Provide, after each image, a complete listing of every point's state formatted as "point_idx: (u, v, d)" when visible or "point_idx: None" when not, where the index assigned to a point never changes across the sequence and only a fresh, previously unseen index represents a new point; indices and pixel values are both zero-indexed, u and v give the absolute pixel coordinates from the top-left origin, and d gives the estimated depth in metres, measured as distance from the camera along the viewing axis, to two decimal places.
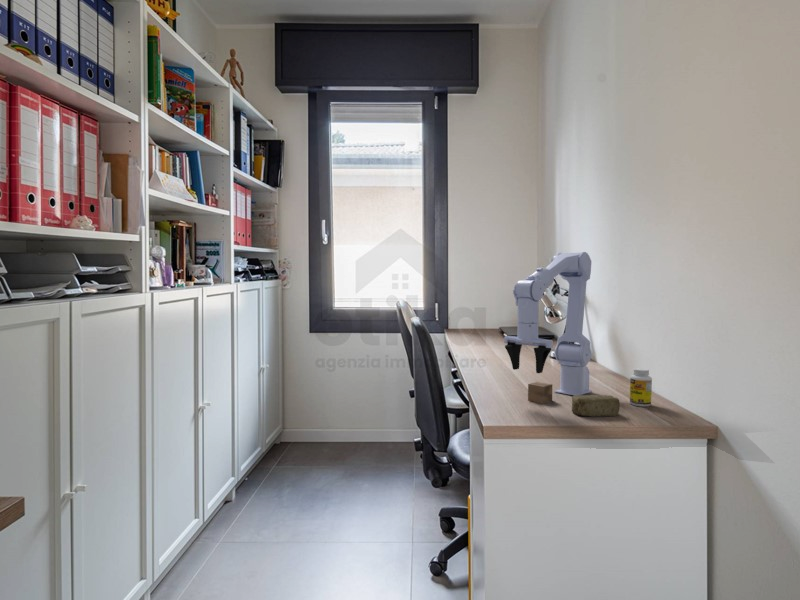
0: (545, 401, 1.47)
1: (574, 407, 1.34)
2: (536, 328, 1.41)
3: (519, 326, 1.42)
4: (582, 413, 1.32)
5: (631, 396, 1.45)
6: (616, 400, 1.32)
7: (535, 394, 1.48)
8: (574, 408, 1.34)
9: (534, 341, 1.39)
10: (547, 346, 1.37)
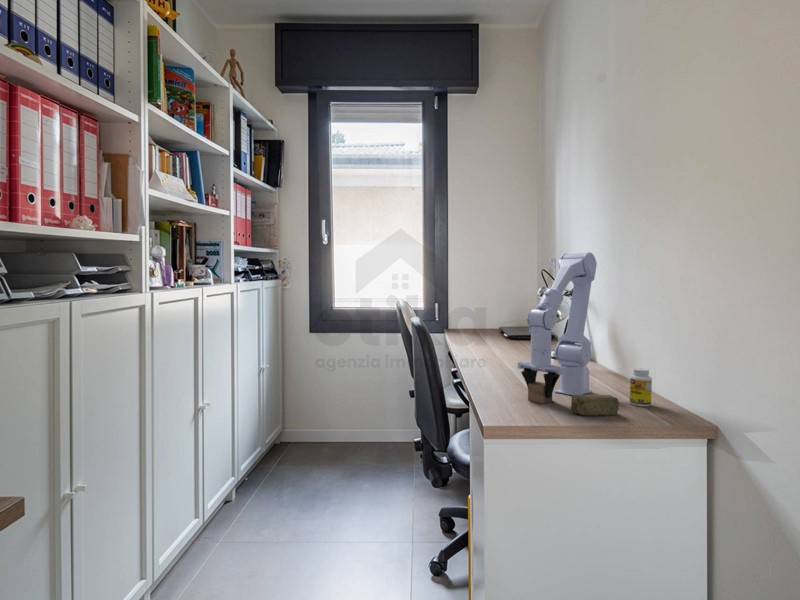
0: (545, 401, 1.47)
1: (573, 406, 1.35)
2: (549, 355, 1.47)
3: (532, 353, 1.48)
4: (581, 413, 1.33)
5: (631, 396, 1.45)
6: (615, 399, 1.33)
7: (535, 394, 1.48)
8: (573, 407, 1.35)
9: (547, 368, 1.46)
10: (559, 373, 1.44)
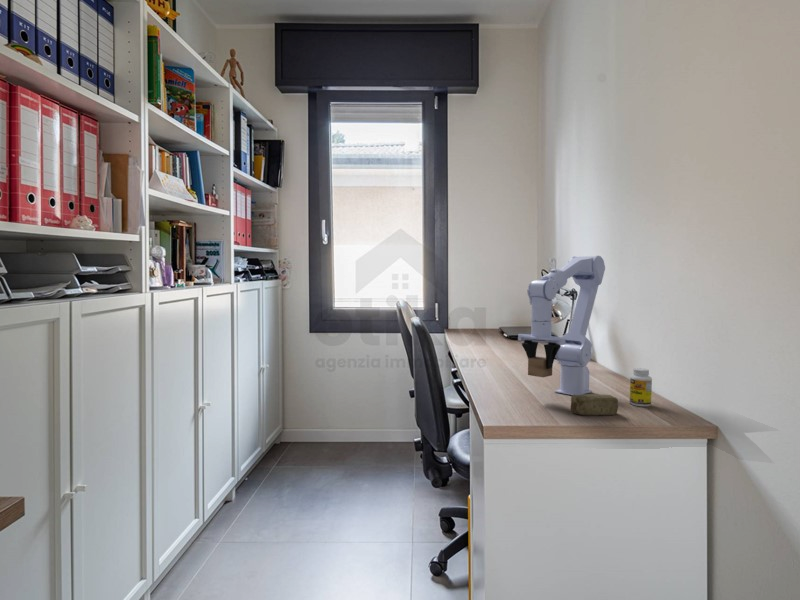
0: (545, 375, 1.47)
1: (572, 406, 1.35)
2: (549, 326, 1.47)
3: (533, 324, 1.48)
4: (580, 413, 1.33)
5: (631, 396, 1.45)
6: (614, 399, 1.33)
7: (535, 368, 1.48)
8: (572, 407, 1.35)
9: (547, 338, 1.45)
10: (560, 343, 1.44)
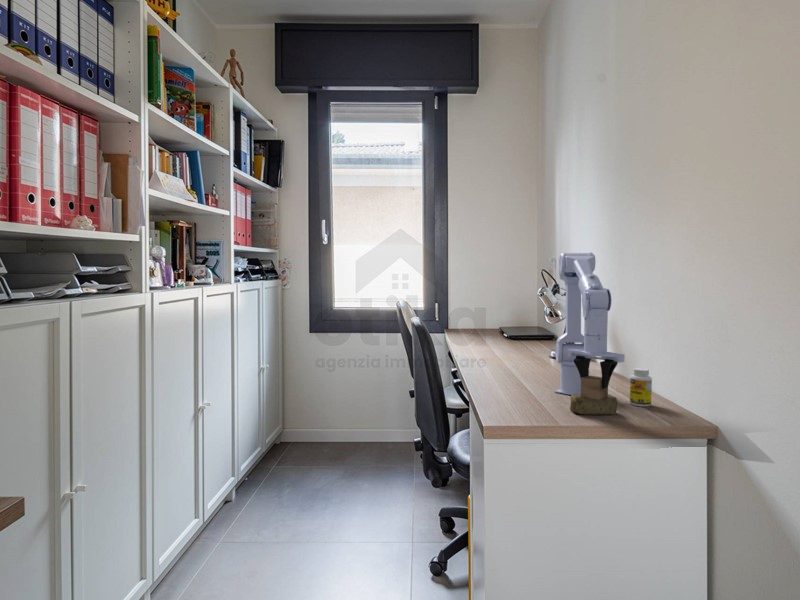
0: (601, 396, 1.32)
1: (572, 405, 1.36)
2: (605, 341, 1.32)
3: (587, 339, 1.33)
4: (580, 412, 1.34)
5: (631, 396, 1.45)
6: (614, 399, 1.34)
7: (589, 389, 1.33)
8: (572, 406, 1.36)
9: (604, 355, 1.30)
10: (619, 360, 1.28)
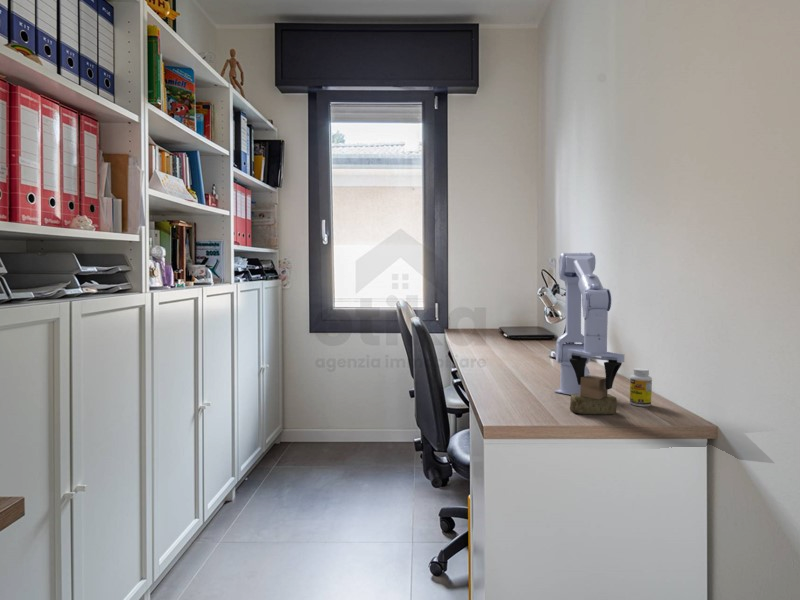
0: (600, 396, 1.32)
1: (572, 405, 1.36)
2: (605, 341, 1.32)
3: (587, 339, 1.33)
4: (579, 412, 1.34)
5: (631, 396, 1.45)
6: (613, 398, 1.34)
7: (589, 388, 1.33)
8: (572, 406, 1.36)
9: (604, 355, 1.30)
10: (619, 361, 1.28)
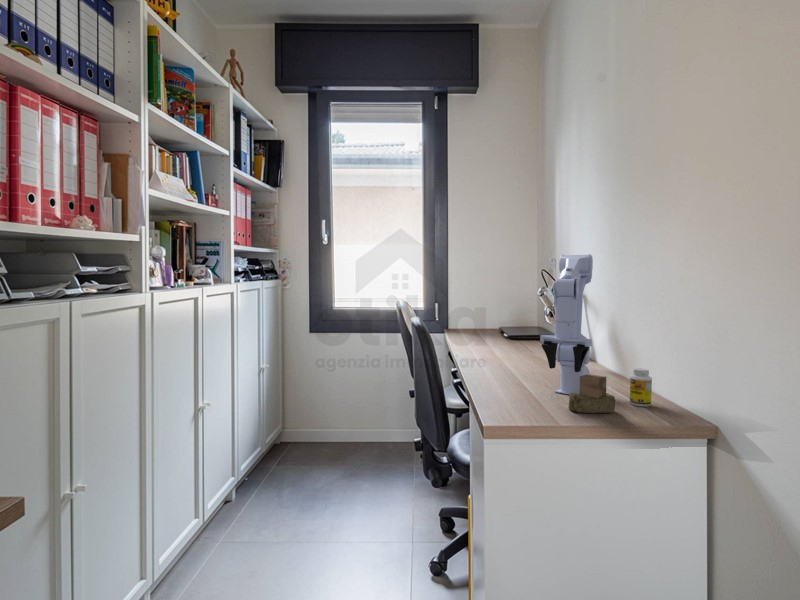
0: (599, 395, 1.34)
1: (570, 404, 1.38)
2: (574, 327, 1.40)
3: (557, 325, 1.41)
4: (578, 410, 1.35)
5: (631, 396, 1.45)
6: (612, 397, 1.35)
7: (588, 387, 1.35)
8: (570, 405, 1.38)
9: (573, 340, 1.39)
10: (586, 345, 1.37)
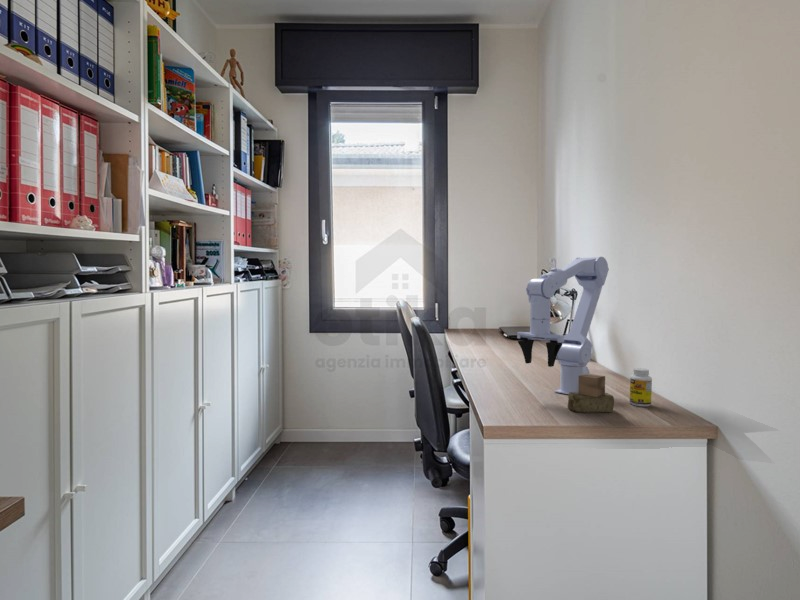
0: (598, 394, 1.35)
1: (569, 403, 1.38)
2: (548, 324, 1.48)
3: (532, 322, 1.49)
4: (577, 410, 1.36)
5: (631, 396, 1.45)
6: (610, 397, 1.36)
7: (586, 386, 1.36)
8: (569, 404, 1.38)
9: (546, 336, 1.47)
10: (559, 341, 1.45)
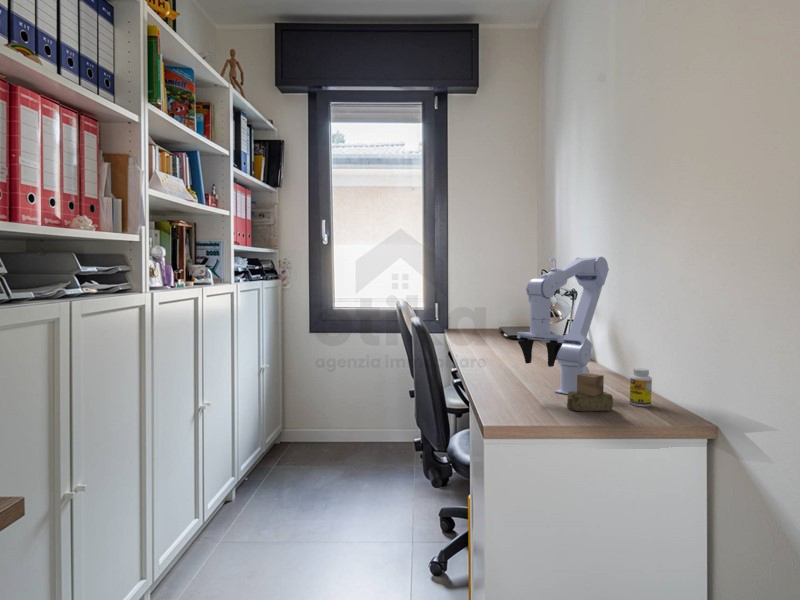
0: (596, 393, 1.36)
1: (568, 402, 1.39)
2: (548, 324, 1.48)
3: (532, 322, 1.49)
4: (576, 409, 1.37)
5: (631, 396, 1.45)
6: (609, 396, 1.37)
7: (585, 386, 1.37)
8: (568, 403, 1.39)
9: (546, 336, 1.47)
10: (559, 341, 1.45)
